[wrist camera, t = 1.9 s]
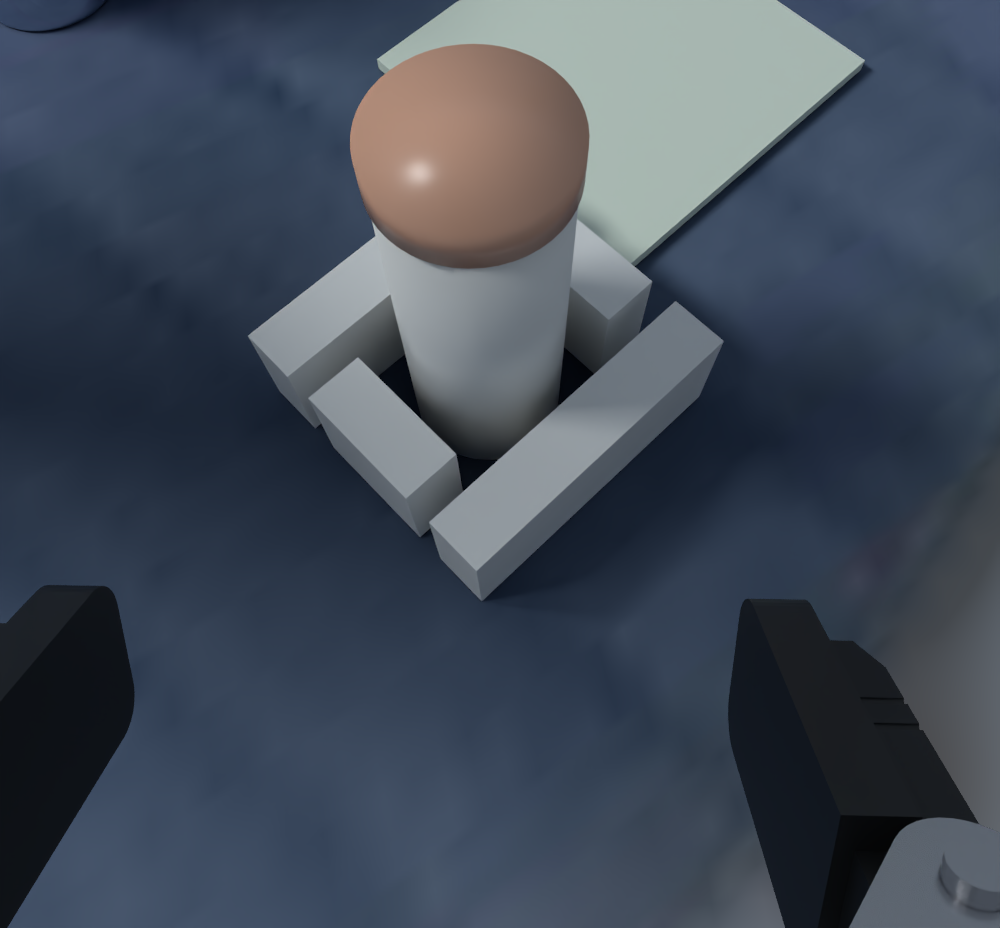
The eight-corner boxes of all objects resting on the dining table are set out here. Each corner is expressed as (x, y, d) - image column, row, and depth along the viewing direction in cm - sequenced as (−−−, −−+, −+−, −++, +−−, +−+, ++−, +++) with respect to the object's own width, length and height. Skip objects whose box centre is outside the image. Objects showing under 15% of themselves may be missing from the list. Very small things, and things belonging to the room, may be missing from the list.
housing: (279, 391, 32) (247, 335, 28) (493, 219, 34) (490, 146, 30) (481, 601, 29) (476, 571, 25) (699, 396, 31) (723, 341, 27)
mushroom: (384, 393, 31) (301, 134, 19) (491, 303, 33) (474, 8, 21) (485, 492, 30) (463, 280, 18) (592, 395, 31) (639, 136, 19)
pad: (378, 68, 37) (377, 59, 36) (612, -100, 40) (613, -111, 40) (624, 275, 33) (626, 267, 33) (860, 70, 36) (864, 60, 36)
